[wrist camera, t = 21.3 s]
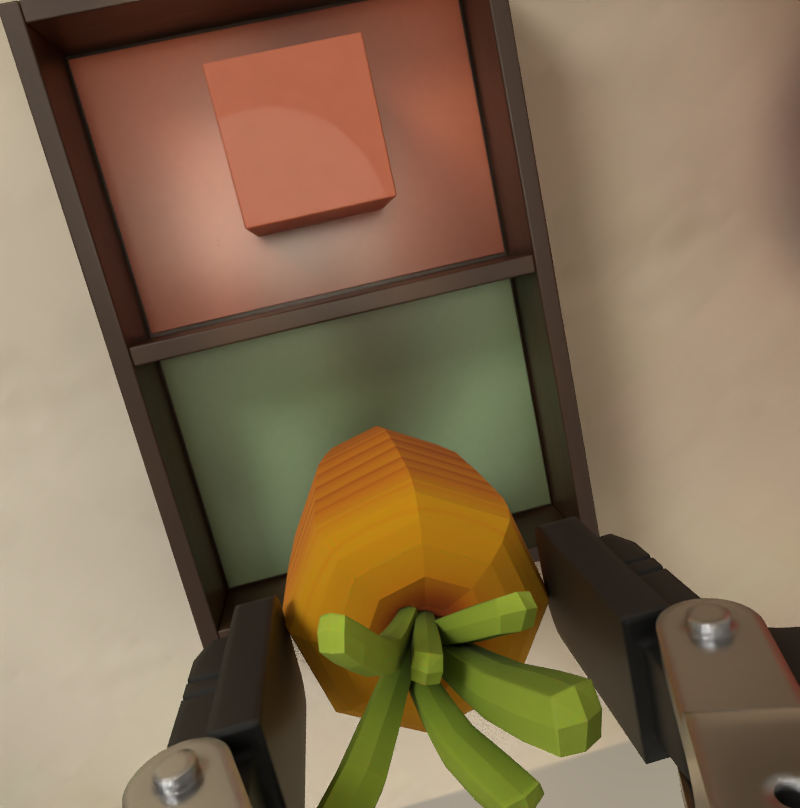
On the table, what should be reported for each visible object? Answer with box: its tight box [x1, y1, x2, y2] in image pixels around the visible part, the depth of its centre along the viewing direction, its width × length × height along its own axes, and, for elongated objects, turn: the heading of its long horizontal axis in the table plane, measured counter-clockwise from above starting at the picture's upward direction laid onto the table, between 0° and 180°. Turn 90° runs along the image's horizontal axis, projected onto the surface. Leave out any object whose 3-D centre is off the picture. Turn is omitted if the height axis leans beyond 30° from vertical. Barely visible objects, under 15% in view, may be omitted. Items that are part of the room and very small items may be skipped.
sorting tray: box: [0, 0, 599, 648], centre depth 23 cm, size 14×20×4 cm
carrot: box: [283, 426, 602, 808], centre depth 15 cm, size 5×5×15 cm
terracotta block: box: [202, 32, 397, 237], centre depth 21 cm, size 4×4×4 cm
